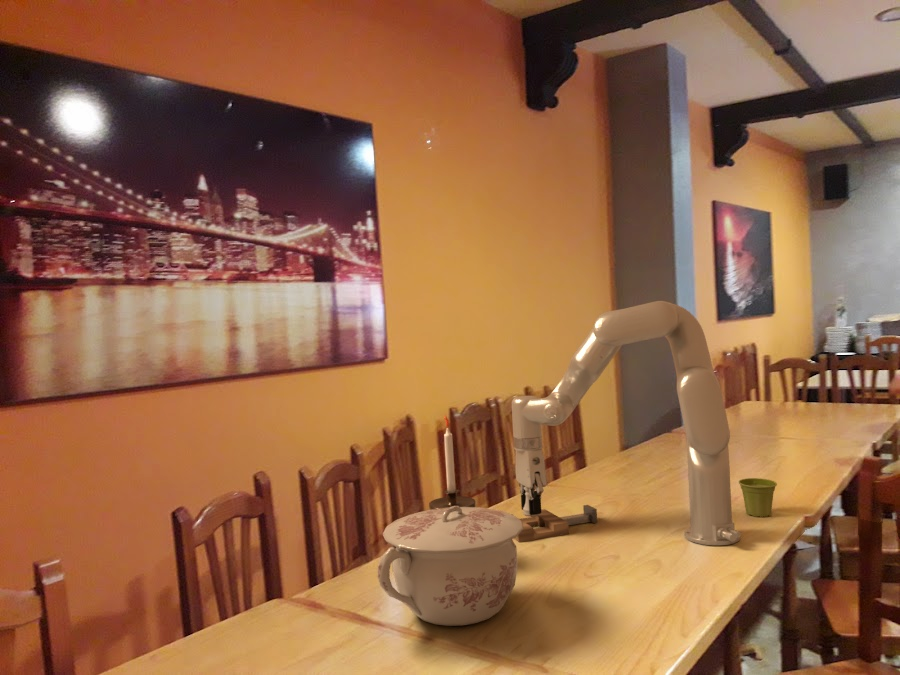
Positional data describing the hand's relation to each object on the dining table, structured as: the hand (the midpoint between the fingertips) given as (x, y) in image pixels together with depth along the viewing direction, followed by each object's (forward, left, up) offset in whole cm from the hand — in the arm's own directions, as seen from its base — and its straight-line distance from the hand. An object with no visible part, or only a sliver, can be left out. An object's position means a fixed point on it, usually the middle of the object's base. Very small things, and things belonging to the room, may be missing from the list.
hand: (531, 510), depth 182 cm
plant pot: (-16, -59, -5) cm, 61 cm away
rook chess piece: (0, 0, -1) cm, 1 cm away
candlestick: (-14, +26, -5) cm, 30 cm away
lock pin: (0, -12, -5) cm, 13 cm away
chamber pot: (-39, +34, -5) cm, 52 cm away
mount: (0, 0, -5) cm, 5 cm away
